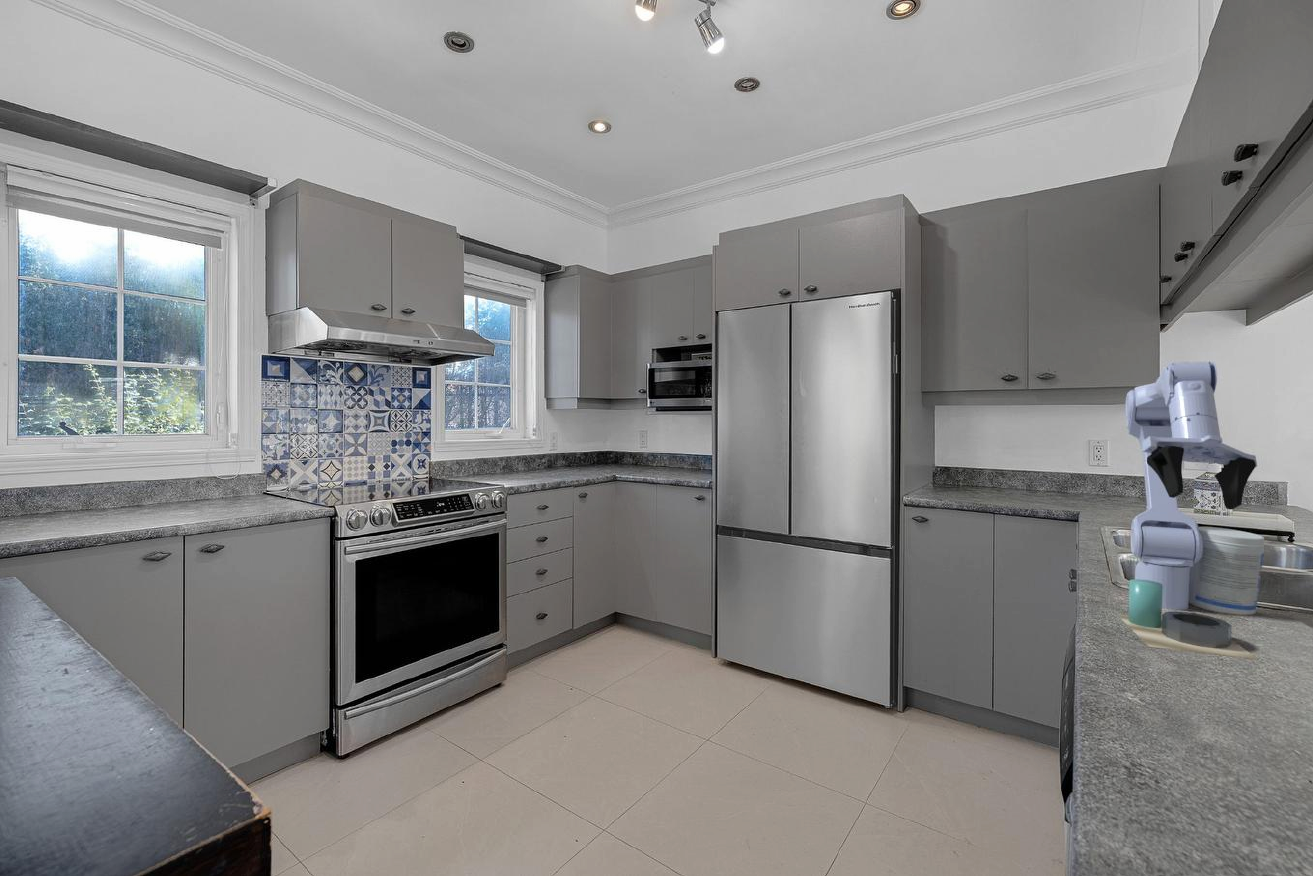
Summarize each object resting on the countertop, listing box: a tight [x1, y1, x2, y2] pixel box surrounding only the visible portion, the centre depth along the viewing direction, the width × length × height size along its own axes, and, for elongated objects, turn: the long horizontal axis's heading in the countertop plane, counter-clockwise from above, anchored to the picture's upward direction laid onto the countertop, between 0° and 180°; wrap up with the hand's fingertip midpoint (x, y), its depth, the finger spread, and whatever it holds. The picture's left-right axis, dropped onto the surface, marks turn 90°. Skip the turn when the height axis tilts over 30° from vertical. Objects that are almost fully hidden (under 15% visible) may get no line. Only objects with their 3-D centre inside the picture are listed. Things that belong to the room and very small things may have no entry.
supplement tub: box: [1189, 526, 1265, 616], centre depth 112 cm, size 10×10×15 cm
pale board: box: [1117, 614, 1260, 661], centre depth 98 cm, size 16×13×1 cm
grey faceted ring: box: [1162, 610, 1232, 648], centre depth 97 cm, size 8×8×3 cm
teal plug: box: [1128, 578, 1163, 628], centre depth 104 cm, size 4×4×7 cm
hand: (1204, 500), depth 91 cm, fingers open, 7 cm apart
